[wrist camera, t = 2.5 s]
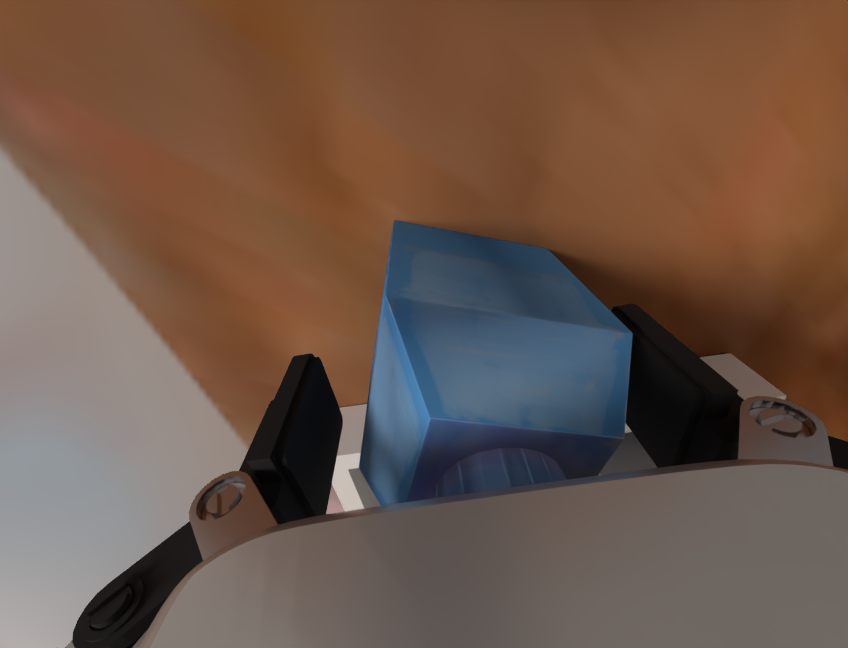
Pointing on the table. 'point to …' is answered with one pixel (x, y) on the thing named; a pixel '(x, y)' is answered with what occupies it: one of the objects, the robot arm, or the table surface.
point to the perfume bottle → (488, 370)
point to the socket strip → (743, 378)
